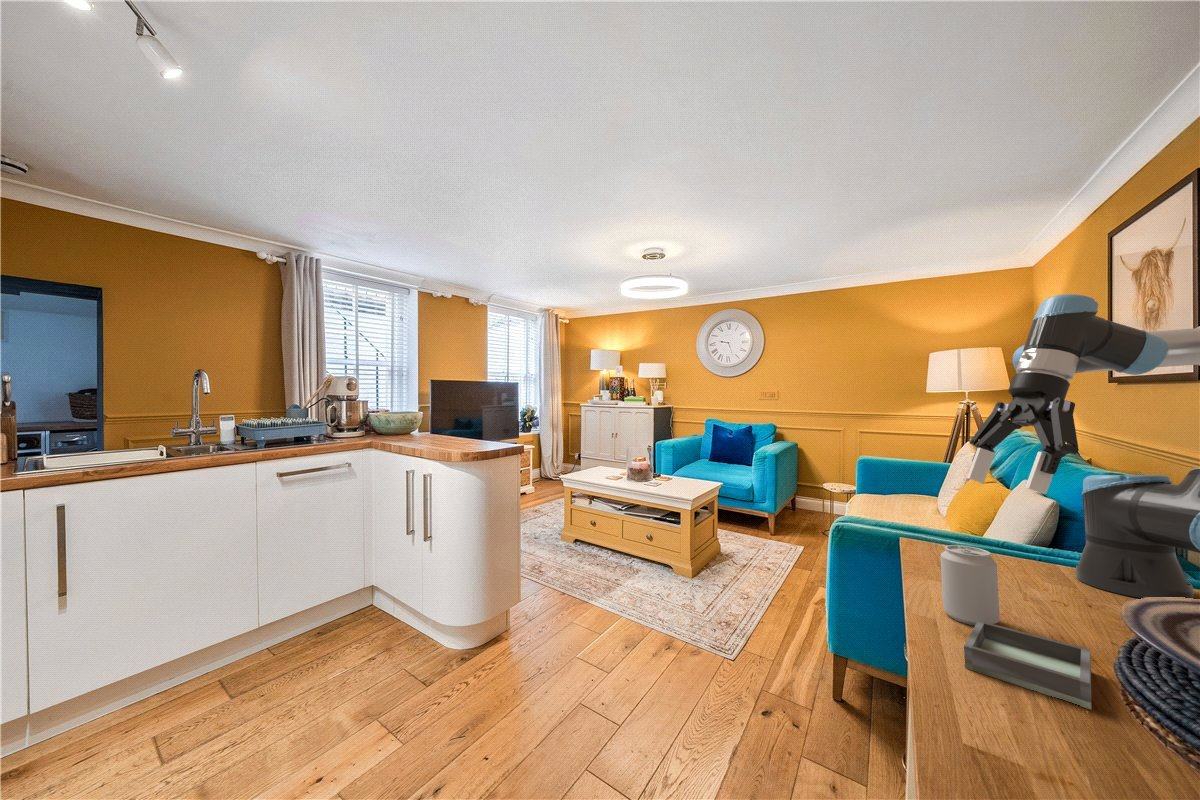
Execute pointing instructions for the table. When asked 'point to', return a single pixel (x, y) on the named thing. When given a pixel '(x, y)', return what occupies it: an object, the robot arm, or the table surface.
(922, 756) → the table surface
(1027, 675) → the tray
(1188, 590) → the robot arm
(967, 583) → the can
